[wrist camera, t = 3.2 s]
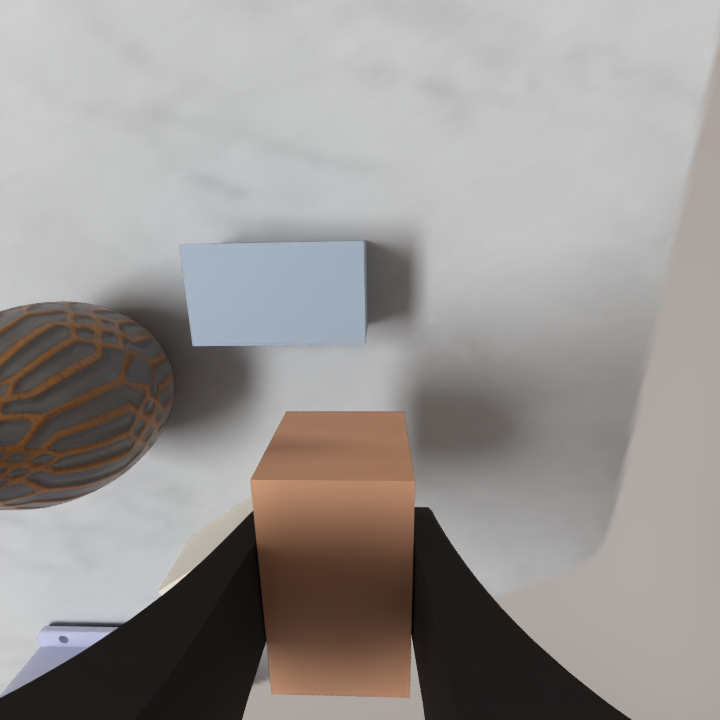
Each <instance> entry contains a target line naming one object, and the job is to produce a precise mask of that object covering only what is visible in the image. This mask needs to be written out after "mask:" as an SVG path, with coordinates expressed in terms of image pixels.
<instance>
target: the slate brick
mask: <svg viewBox="0 0 720 720" xmlns="http://www.w3.org/2000/svg"><path fill="white" fill-rule="evenodd" d="M179 250H180V257H181V264H182V272H183V279H184V286H185V294H186V301H187V308H188V316H189V323H190V330H191V338H192V345H193V346H264V345H365V344H366V335H367V325H368V318H367V247H366V240H363V241H312V242H262V243H213V244H179Z"/></svg>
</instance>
